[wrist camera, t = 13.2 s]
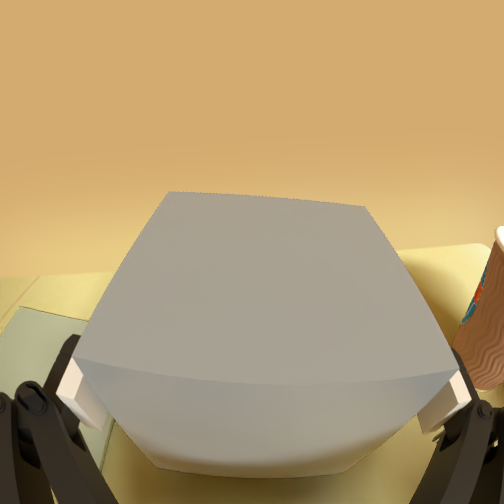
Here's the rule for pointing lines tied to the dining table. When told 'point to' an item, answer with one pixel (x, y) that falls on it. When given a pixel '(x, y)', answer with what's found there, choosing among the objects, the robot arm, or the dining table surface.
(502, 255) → the coffee cup
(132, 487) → the dining table surface
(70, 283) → the dining table surface
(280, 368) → the cover
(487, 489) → the robot arm
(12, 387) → the mat
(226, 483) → the dining table surface
